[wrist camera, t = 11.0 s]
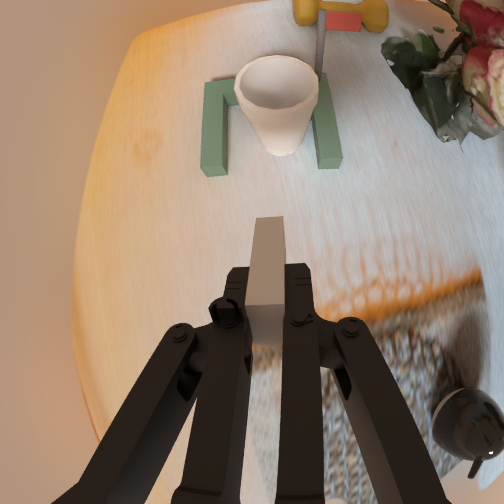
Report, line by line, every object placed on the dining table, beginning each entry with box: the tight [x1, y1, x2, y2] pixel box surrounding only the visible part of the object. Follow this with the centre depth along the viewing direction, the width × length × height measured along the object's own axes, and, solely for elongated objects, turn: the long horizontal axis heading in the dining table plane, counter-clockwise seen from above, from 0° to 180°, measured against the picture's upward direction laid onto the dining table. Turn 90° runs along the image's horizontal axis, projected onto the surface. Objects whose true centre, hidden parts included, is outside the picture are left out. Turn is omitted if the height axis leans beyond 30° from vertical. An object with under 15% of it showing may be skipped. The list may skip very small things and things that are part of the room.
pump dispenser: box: [432, 387, 504, 479], centre depth 24 cm, size 10×10×15 cm
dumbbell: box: [293, 0, 389, 33], centre depth 39 cm, size 19×9×8 cm, turn 88°
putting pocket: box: [200, 9, 363, 177], centre depth 32 cm, size 16×22×18 cm
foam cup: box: [234, 55, 319, 156], centre depth 34 cm, size 10×9×13 cm
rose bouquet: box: [381, 0, 504, 153], centre depth 24 cm, size 26×29×30 cm
